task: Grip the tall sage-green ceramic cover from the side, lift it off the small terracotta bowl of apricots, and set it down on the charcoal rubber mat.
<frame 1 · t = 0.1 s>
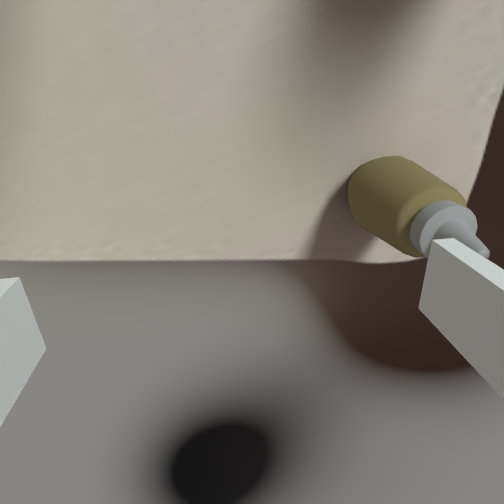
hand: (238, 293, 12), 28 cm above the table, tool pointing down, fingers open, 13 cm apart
squeeze bottle: (371, 185, 41), on the table
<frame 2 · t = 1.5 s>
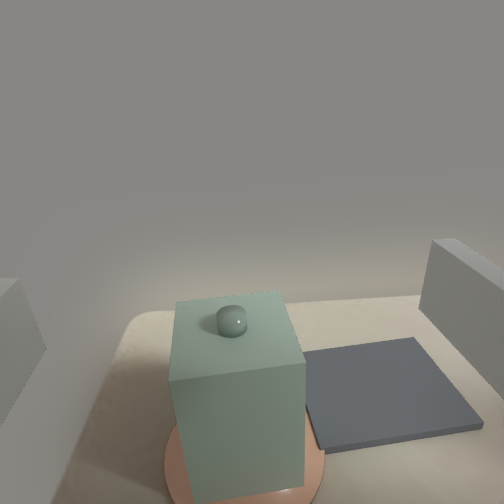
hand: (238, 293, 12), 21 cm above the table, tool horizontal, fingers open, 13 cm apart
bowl: (244, 449, 30), on the table
mat: (373, 389, 34), on the table
cover: (244, 444, 29), point 1 cm above the table, touching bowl
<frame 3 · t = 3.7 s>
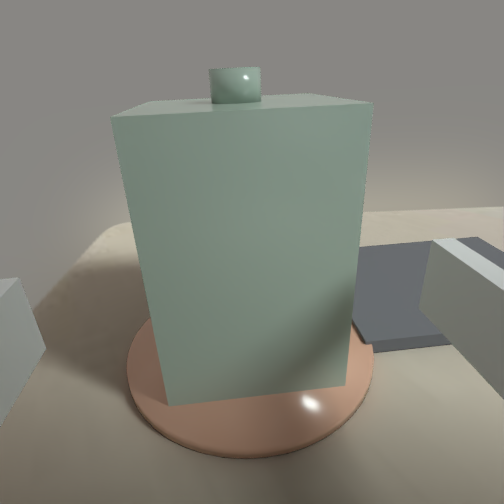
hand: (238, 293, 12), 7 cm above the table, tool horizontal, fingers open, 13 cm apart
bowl: (250, 346, 20), on the table
mat: (432, 287, 25), on the table
cover: (249, 338, 20), point 1 cm above the table, touching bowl
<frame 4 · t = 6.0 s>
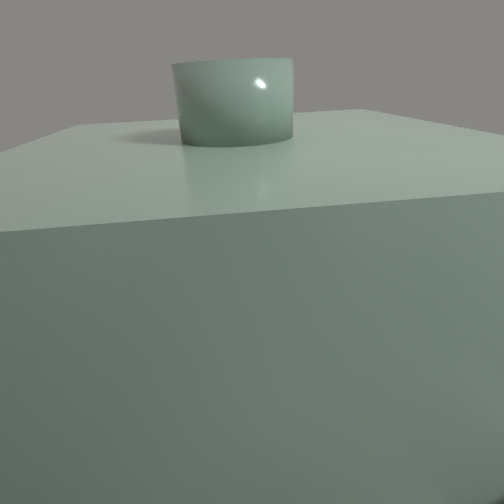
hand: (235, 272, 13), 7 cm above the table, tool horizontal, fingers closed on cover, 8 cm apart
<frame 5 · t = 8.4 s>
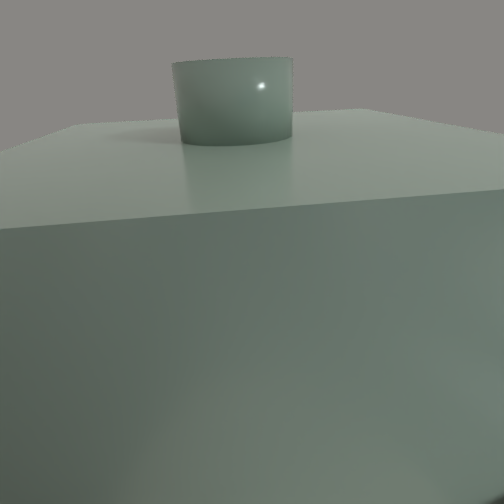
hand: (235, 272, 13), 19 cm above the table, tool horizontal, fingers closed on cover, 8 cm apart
when the fingers open (9 cm above the table, at t = 10.8 s): cover drops 1 cm, resting on mat.
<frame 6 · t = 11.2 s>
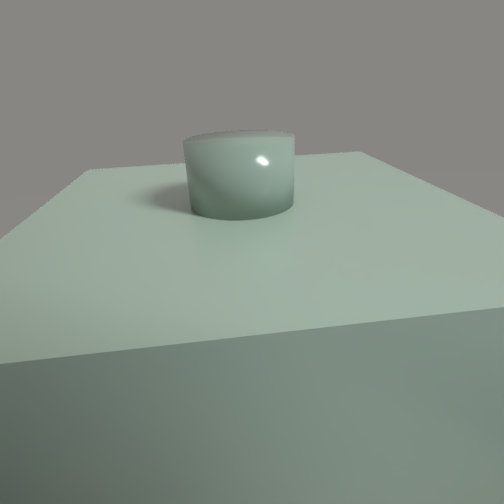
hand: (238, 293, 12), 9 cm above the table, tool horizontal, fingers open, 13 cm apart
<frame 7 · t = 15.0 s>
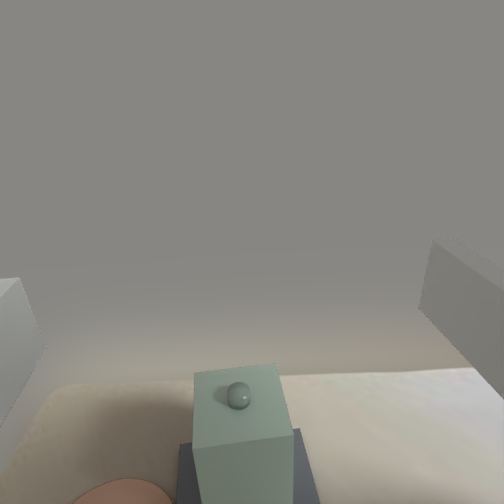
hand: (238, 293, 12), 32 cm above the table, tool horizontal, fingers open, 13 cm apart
mat: (245, 488, 37), on the table
cover: (245, 484, 37), point 1 cm above the table, touching mat
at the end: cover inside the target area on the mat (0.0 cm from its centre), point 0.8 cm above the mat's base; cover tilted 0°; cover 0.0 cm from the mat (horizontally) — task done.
